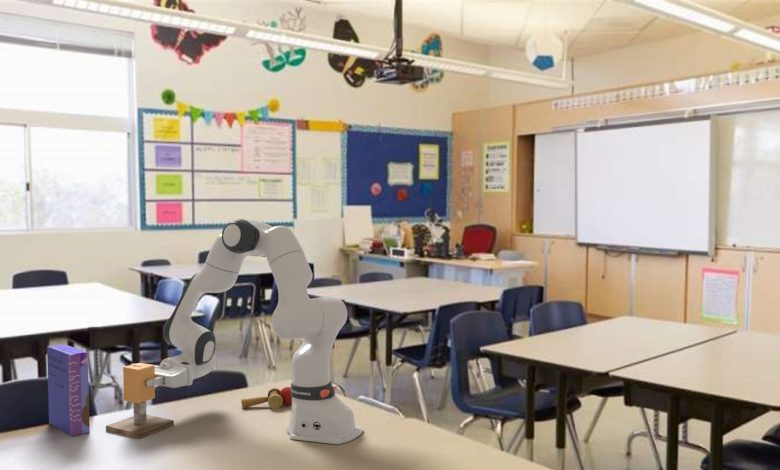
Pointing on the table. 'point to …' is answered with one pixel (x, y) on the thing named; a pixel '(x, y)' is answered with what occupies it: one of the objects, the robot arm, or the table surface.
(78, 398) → the cereal box
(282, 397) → the kendama
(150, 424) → the shaft base
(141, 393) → the orange block
